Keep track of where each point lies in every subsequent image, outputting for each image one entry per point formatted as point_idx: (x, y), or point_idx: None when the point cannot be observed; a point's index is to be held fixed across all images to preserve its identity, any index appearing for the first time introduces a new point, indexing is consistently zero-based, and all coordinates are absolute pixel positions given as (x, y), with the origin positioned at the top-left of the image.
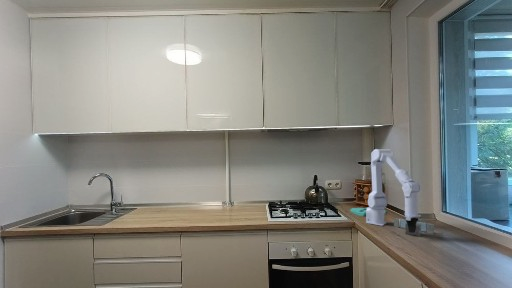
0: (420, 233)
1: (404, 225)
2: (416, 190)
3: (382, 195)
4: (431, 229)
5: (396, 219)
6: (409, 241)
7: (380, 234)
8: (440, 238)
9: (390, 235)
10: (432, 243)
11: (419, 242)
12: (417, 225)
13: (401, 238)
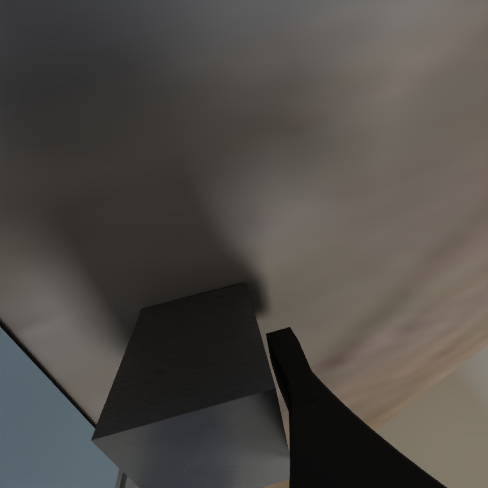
0: (153, 311)
1: (100, 473)
2: None
3: None
4: None
5: None
6: (446, 252)
7: (389, 397)
8: (81, 75)
9: (375, 372)
10: (403, 83)
11: (435, 192)
12: (263, 406)
13: (401, 314)
